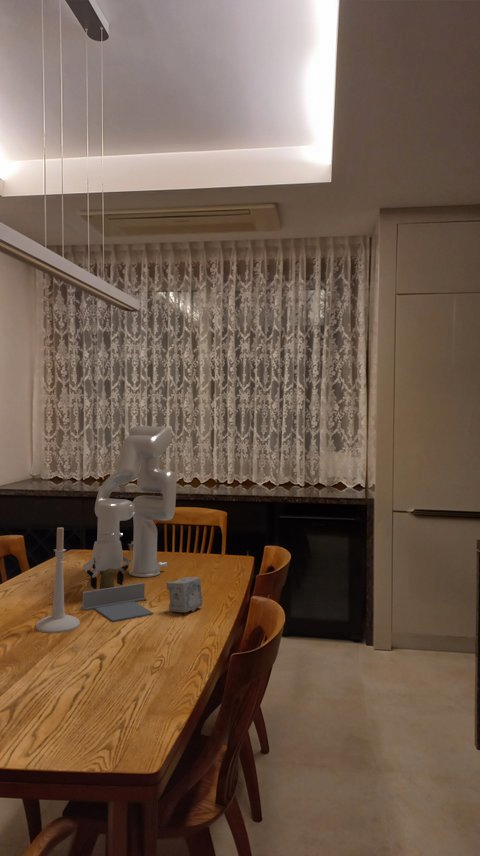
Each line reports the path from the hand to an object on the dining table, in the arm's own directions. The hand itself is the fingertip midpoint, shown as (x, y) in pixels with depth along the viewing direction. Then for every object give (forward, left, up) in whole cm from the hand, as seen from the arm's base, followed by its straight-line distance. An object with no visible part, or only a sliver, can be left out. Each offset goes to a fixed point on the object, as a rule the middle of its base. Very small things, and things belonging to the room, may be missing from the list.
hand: (107, 586), depth 210 cm
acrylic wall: (+1, +8, -4) cm, 9 cm away
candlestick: (+24, +19, -4) cm, 31 cm away
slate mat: (+2, +18, -4) cm, 19 cm away
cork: (0, 0, -4) cm, 4 cm away
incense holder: (-16, +26, -4) cm, 31 cm away
